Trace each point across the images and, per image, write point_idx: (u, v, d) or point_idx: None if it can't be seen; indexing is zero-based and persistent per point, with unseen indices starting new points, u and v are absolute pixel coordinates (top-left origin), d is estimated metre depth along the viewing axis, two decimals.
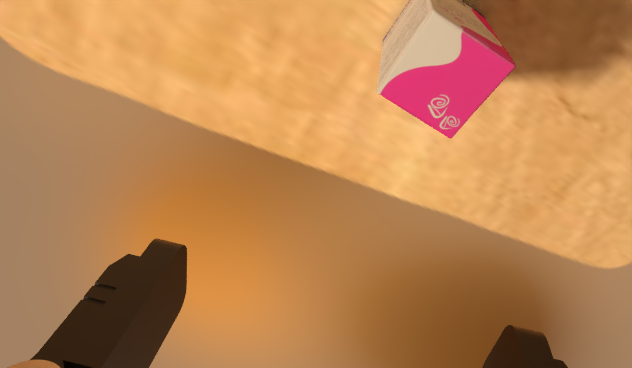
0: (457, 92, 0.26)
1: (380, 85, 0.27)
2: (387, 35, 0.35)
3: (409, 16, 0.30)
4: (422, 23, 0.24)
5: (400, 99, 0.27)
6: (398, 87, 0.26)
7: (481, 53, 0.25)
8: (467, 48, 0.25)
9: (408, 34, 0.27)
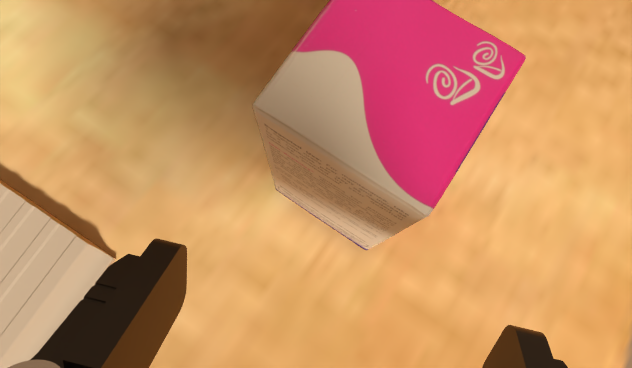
0: (419, 49, 0.12)
1: (412, 209, 0.12)
2: (355, 241, 0.22)
3: (307, 191, 0.18)
4: (279, 127, 0.12)
5: (441, 162, 0.12)
6: (412, 167, 0.12)
7: (338, 14, 0.13)
8: (328, 39, 0.12)
9: (314, 167, 0.14)
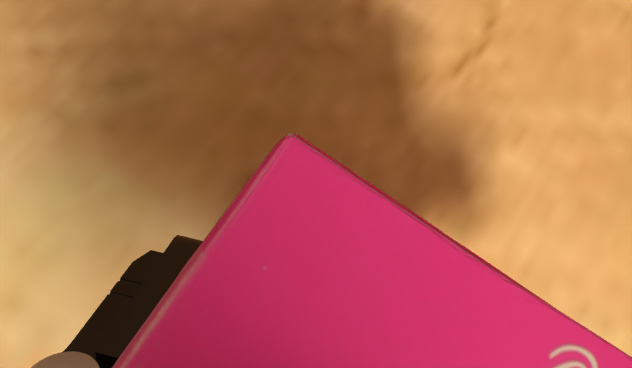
0: None
1: None
2: None
3: None
4: None
5: None
6: None
7: (223, 280, 0.05)
8: (195, 348, 0.05)
9: None
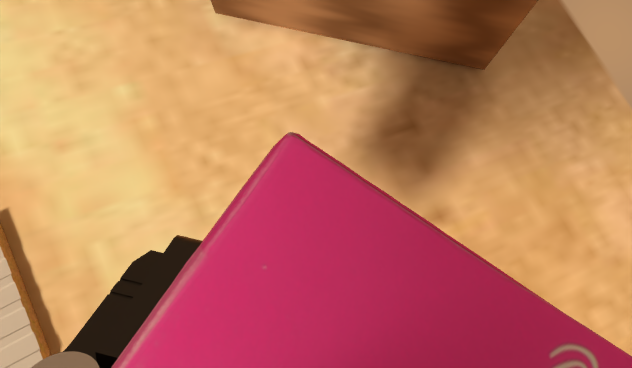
0: None
1: None
2: None
3: None
4: None
5: None
6: None
7: (223, 280, 0.05)
8: (195, 348, 0.05)
9: None
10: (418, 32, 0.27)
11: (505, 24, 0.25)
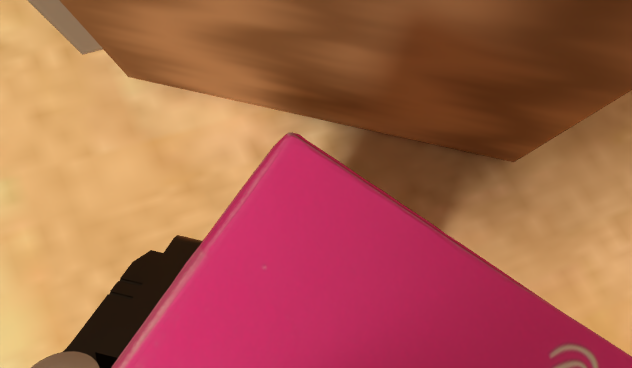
0: None
1: None
2: None
3: None
4: None
5: None
6: None
7: (223, 280, 0.05)
8: (195, 348, 0.05)
9: None
10: (419, 118, 0.18)
11: (557, 119, 0.16)
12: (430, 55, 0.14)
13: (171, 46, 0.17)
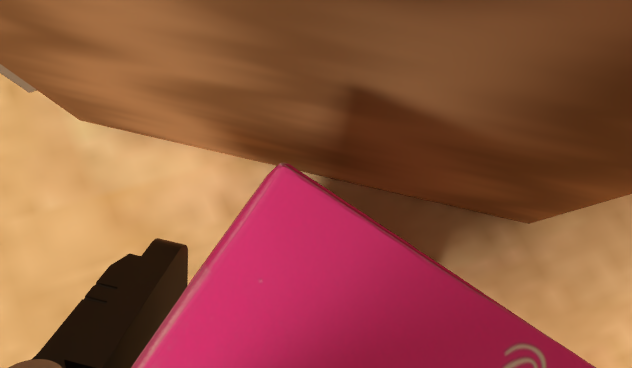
0: None
1: None
2: None
3: None
4: None
5: None
6: None
7: (225, 292, 0.06)
8: (202, 351, 0.06)
9: None
10: (417, 179, 0.15)
11: (588, 193, 0.13)
12: (431, 124, 0.11)
13: (116, 96, 0.14)
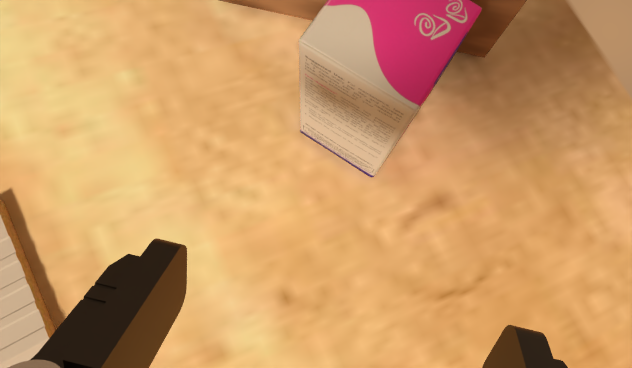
0: (410, 3, 0.18)
1: (405, 107, 0.18)
2: (363, 169, 0.28)
3: (329, 119, 0.24)
4: (316, 55, 0.18)
5: (424, 76, 0.18)
6: (405, 80, 0.18)
7: None
8: None
9: (338, 88, 0.20)
10: None
11: (505, 9, 0.25)
12: None
13: None
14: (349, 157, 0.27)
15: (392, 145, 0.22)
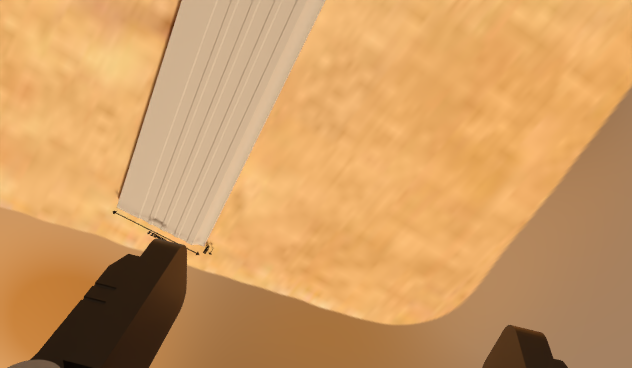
0: None
1: None
2: None
3: None
4: None
5: None
6: None
7: None
8: None
9: None
10: None
11: None
12: None
13: None
14: None
15: None
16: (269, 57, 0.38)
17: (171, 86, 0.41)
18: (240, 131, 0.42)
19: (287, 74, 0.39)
